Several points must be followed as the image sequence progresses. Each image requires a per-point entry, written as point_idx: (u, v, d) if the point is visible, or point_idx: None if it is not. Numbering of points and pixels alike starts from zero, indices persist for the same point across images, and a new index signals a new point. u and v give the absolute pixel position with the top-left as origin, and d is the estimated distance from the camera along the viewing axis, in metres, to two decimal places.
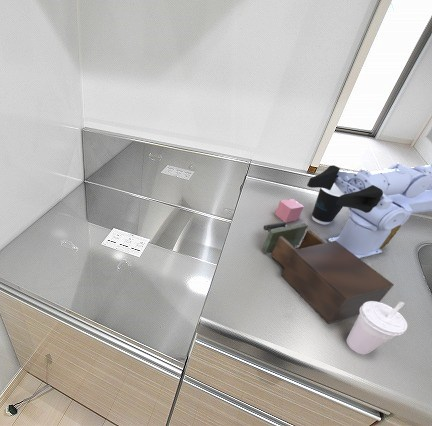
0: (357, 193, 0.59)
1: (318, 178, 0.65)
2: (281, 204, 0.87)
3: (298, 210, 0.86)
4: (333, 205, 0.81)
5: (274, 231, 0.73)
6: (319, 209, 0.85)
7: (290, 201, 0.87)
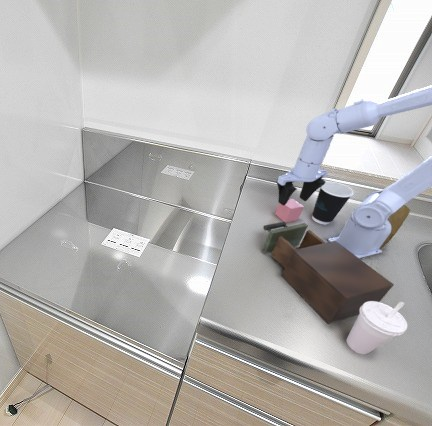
0: None
1: (301, 193, 0.87)
2: (281, 204, 0.87)
3: (298, 210, 0.86)
4: (333, 205, 0.81)
5: (274, 231, 0.73)
6: (319, 209, 0.85)
7: (290, 201, 0.87)
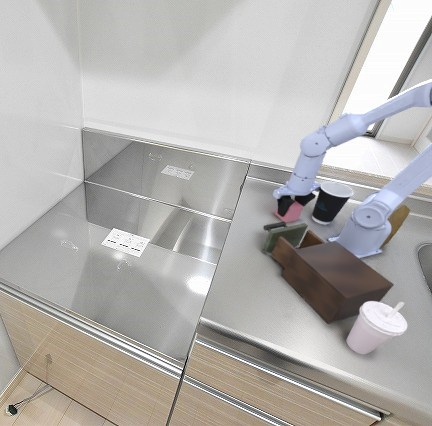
0: None
1: None
2: None
3: (298, 210, 0.86)
4: (333, 205, 0.81)
5: (274, 231, 0.73)
6: (319, 209, 0.84)
7: None
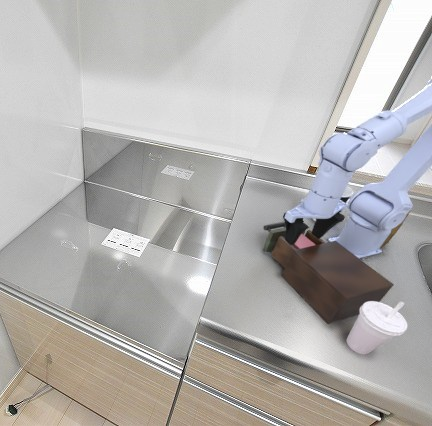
0: None
1: (314, 228, 0.71)
2: None
3: None
4: None
5: (274, 231, 0.73)
6: None
7: (299, 237, 0.71)
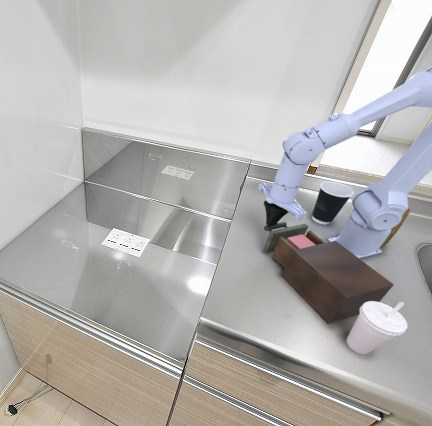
0: (270, 218, 0.77)
1: None
2: (289, 241, 0.71)
3: None
4: (333, 205, 0.81)
5: (275, 232, 0.72)
6: (319, 209, 0.84)
7: (300, 238, 0.71)
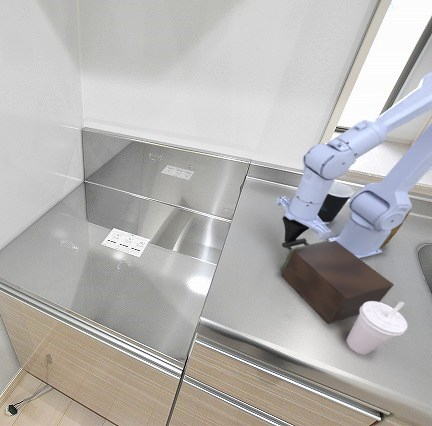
0: (289, 234, 0.72)
1: None
2: None
3: None
4: (333, 205, 0.81)
5: None
6: None
7: None
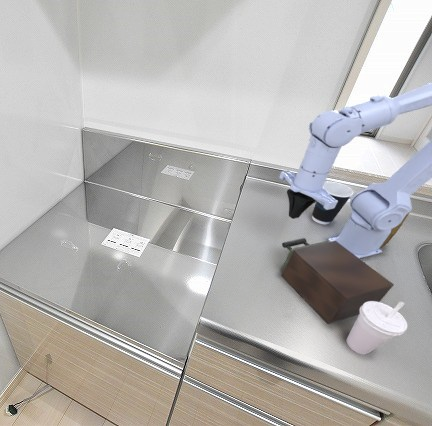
0: (295, 209, 0.70)
1: None
2: None
3: None
4: None
5: None
6: (319, 209, 0.84)
7: None
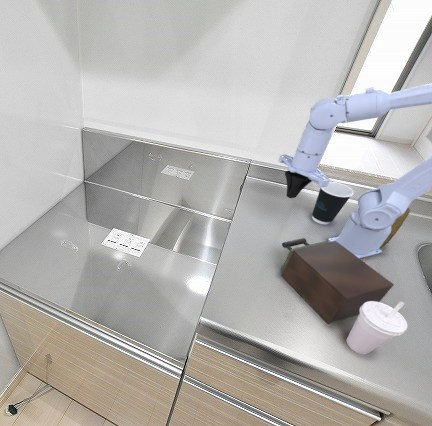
0: (292, 188, 0.77)
1: None
2: None
3: None
4: (333, 205, 0.81)
5: None
6: (319, 209, 0.84)
7: None
